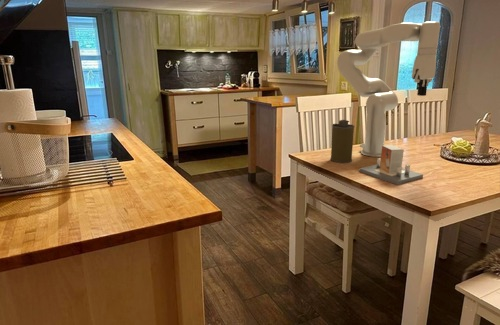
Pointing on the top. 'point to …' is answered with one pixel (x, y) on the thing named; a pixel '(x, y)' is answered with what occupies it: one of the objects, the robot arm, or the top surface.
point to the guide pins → (399, 169)
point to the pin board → (390, 175)
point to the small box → (391, 158)
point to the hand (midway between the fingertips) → (421, 95)
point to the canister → (342, 142)
